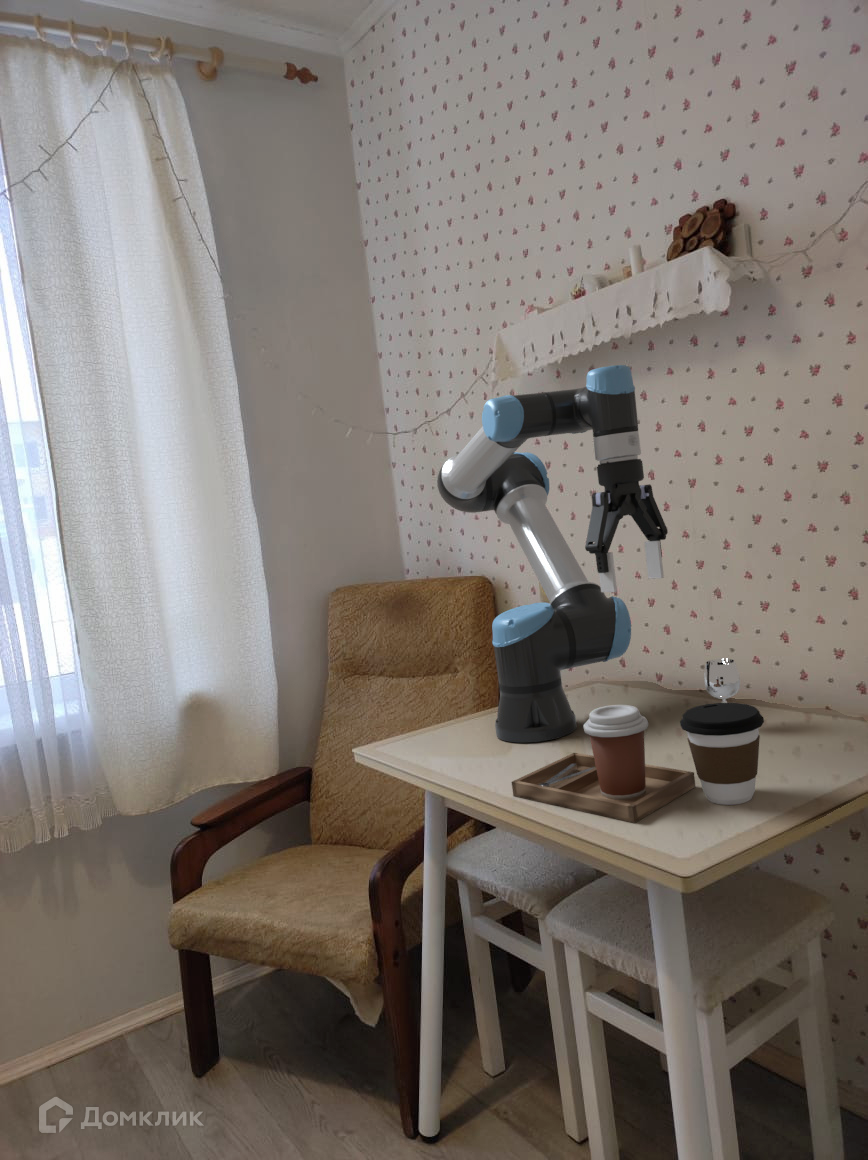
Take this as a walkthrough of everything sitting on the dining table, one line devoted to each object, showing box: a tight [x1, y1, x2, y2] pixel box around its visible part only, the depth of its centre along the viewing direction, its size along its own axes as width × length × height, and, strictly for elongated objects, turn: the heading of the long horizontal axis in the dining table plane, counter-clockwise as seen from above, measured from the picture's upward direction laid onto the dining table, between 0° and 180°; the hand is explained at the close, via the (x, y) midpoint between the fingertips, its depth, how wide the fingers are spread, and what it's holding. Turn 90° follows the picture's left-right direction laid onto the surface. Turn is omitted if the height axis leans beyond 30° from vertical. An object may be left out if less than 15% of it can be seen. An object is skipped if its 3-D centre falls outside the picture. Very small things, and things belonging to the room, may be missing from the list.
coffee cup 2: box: [679, 702, 765, 806], centre depth 123 cm, size 11×11×12 cm
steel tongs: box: [539, 764, 595, 788], centre depth 136 cm, size 11×5×1 cm, turn 132°
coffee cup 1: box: [583, 704, 649, 800], centre depth 129 cm, size 9×9×12 cm
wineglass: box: [703, 658, 741, 703], centre depth 152 cm, size 6×6×12 cm
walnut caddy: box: [511, 752, 696, 824], centre depth 132 cm, size 22×15×2 cm
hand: (633, 585), depth 152 cm, fingers open, 13 cm apart
